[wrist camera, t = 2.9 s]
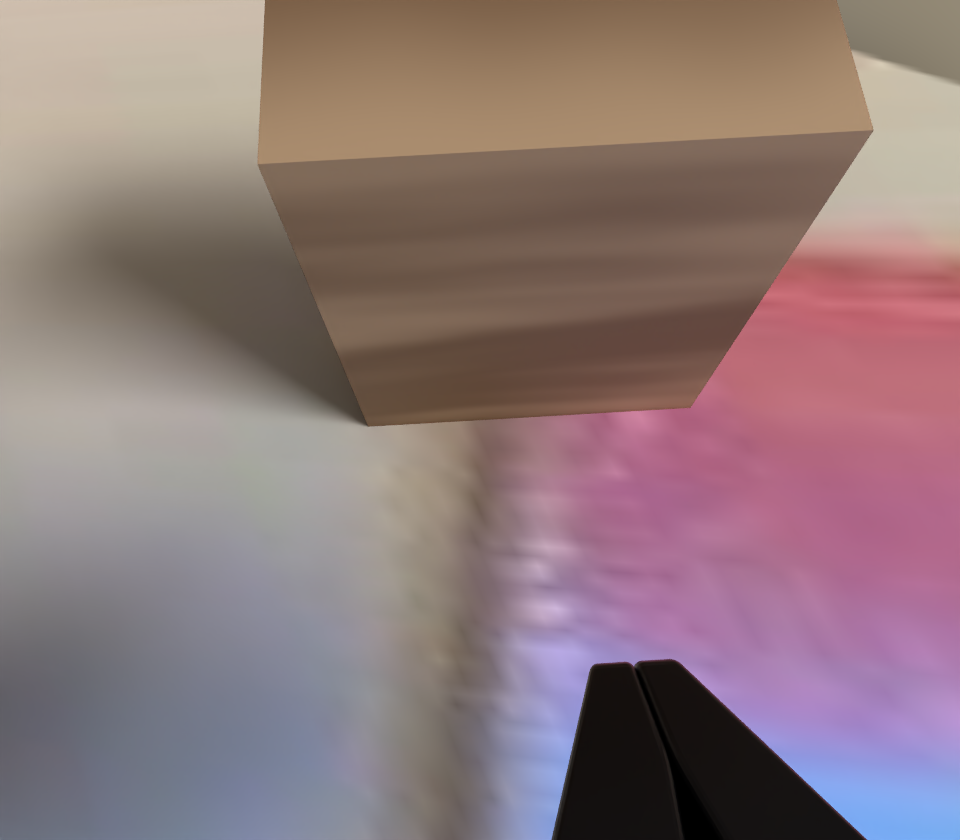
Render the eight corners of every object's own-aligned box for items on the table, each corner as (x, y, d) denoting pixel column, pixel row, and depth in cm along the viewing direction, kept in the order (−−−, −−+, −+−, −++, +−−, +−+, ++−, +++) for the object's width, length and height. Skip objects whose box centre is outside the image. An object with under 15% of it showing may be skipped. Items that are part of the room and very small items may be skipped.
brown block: (690, 407, 20) (873, 130, 10) (367, 426, 20) (257, 164, 10) (671, 290, 21) (820, -55, 11) (366, 308, 21) (266, -26, 11)
